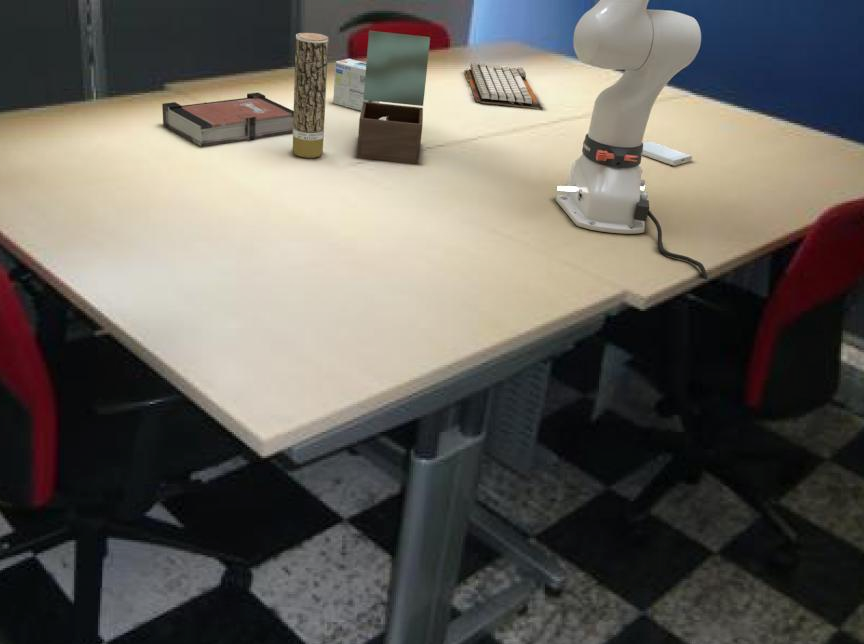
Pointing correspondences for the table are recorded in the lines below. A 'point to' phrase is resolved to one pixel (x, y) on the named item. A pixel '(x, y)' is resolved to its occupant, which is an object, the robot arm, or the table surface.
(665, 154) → the hard drive
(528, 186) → the table surface
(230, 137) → the book
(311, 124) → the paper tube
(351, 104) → the light bulb box
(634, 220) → the robot arm
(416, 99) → the pale blue slab
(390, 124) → the case
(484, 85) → the mechanical keyboard
